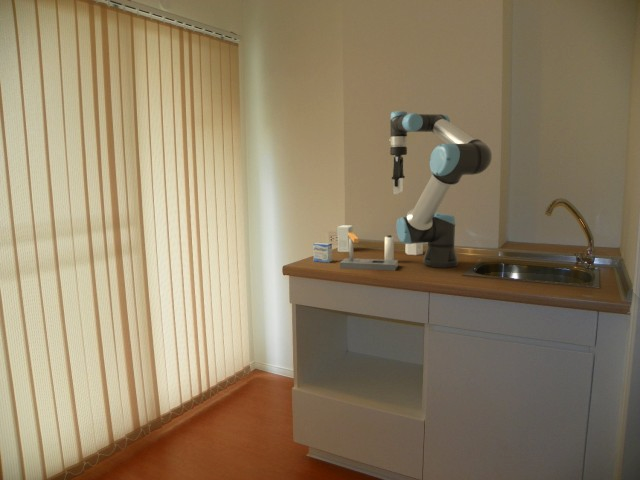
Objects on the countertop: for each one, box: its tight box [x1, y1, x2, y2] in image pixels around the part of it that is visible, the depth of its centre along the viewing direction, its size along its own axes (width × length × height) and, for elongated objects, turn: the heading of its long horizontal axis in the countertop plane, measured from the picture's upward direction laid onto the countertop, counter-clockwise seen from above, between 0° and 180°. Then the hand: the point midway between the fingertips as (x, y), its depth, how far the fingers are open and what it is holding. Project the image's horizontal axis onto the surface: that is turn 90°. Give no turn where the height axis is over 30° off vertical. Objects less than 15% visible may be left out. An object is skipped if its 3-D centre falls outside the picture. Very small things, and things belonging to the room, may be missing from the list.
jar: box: [404, 243, 424, 256], centre depth 247 cm, size 9×8×12 cm
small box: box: [336, 224, 354, 253], centre depth 259 cm, size 8×6×13 cm
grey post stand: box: [339, 237, 399, 272], centre depth 215 cm, size 24×10×14 cm, turn 74°
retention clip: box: [348, 232, 359, 244], centre depth 209 cm, size 17×3×2 cm, turn 4°
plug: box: [384, 234, 395, 260], centre depth 226 cm, size 4×4×13 cm
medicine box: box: [312, 242, 333, 264], centre depth 232 cm, size 8×4×9 cm, turn 62°
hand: (398, 193), depth 228 cm, fingers open, 13 cm apart
